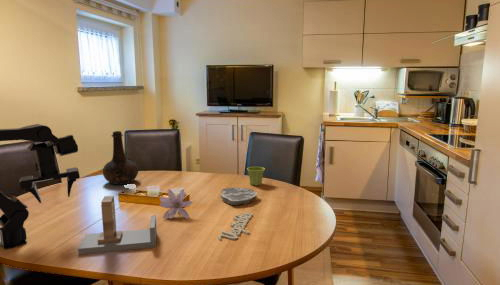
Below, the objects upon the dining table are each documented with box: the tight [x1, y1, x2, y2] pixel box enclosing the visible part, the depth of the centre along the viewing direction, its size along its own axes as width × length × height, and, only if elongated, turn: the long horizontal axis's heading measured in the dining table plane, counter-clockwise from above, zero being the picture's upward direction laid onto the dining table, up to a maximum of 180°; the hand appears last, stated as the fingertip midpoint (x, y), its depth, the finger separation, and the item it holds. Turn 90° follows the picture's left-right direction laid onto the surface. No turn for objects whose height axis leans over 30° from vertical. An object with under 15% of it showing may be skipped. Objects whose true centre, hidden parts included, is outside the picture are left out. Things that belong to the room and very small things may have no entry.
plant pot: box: [246, 166, 266, 187], centre depth 189 cm, size 9×9×9 cm
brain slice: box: [220, 187, 258, 206], centre depth 167 cm, size 20×17×3 cm
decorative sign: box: [217, 211, 253, 242], centre depth 136 cm, size 26×1×10 cm
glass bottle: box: [102, 130, 139, 185], centre depth 190 cm, size 18×18×28 cm
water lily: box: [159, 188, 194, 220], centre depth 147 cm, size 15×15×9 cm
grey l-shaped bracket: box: [77, 214, 158, 256], centre depth 121 cm, size 24×11×7 cm, turn 103°
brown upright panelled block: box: [98, 195, 123, 243], centre depth 119 cm, size 6×7×14 cm
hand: (54, 199), depth 130 cm, fingers open, 9 cm apart
